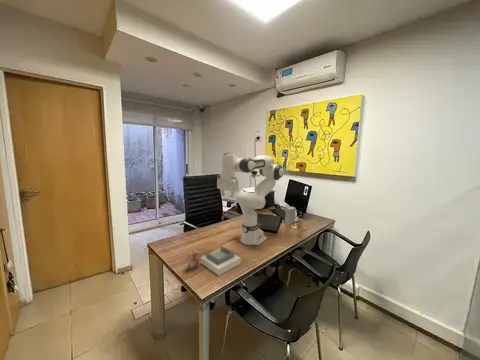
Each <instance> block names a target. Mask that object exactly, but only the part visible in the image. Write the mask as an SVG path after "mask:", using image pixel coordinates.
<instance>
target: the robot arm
mask: <svg viewBox="0 0 480 360" xmlns="http://www.w3.org/2000/svg"><path fill="white" fill-rule="evenodd" d="M273 163H274V158H273V157H271V156H270V155H264V154H263V155H256V156H253V159H252V158H250V157H244V158H243V157H242V158H241V157H238V156H236V155H235V153H234V152H225V153H223V154H222V158H221V173H220V174H218V175H217V176H216V177H217V179H216V188H217V189H218V190H220V192H221V193H220V194H221V197H225V196H226V193H225V191H229V192H230V194H229V198H230V199H233V198H234V195H235V192H236V193H237V192H238V193H237V194H236V202H237V203H238V205H239V206H240V208H241V209H240V210H241V212H242V226H241V227H242V228H241V236H240V243H242V244H244V245H247V246H260V245H261V244H262V243H263V242H265V241H266V240H267V238H268V237H267V236H265V234H264V231H263V230H262V229H261V228H259V227H261V223H259V222H258V214H257V212H256V211H255V210H261V209H264V207H265V205H266V198H265V197H266V196H267V195H268V194H269V193H270V192H271V191H272V190H273V189H274V187H275V186H276V185H277V184H276V183H277V181H279V180H280V179H281V178H282V177H283V176H284V174H285V168H284V166H282V165H280V164H273ZM254 170H258V171H259V175H261V177H264V179H262V180H261V181H260V182H259V183H258V184H256V185H255V187H254V192H249V191H239V190H240V189H239V188H240V187H239V185H240V184H239V180H238V178H237V177H236V176H235V173H246V174H249V173H252V171H254Z"/></svg>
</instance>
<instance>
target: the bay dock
mask: <svg viewBox="0 0 480 360" xmlns="http://www.w3.org/2000/svg"><path fill="white" fill-rule="evenodd" d="M241 261H242V258H241V256H238V255H236V254H235V252H234V251H232V250H230V249H228V248H226V247H224V246H222V245H220V247H219V249H217V250H214V251H213V252H208V251H206V252H205V255H203V256H201V257H200V264H201V265H203V266H204V267H206V268H207V269H209V270H210V271H211V272H213V273H214V274H216V275H217V276H220V275H223V274H224V273H227V272H229V271H230V270H232V269H234V268H236V267H237V266H240V265H241V263H242V262H241Z"/></svg>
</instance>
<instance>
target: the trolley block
mask: <svg viewBox="0 0 480 360" xmlns="http://www.w3.org/2000/svg"><path fill="white" fill-rule="evenodd" d="M199 253H200V252H199V251H198V250H196V249H193V250H191V251H187V268H188V269H189V270H190V271H194V270H196V269H198V268H200V264H199V261H200V257H199Z"/></svg>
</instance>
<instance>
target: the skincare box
mask: <svg viewBox="0 0 480 360" xmlns="http://www.w3.org/2000/svg"><path fill="white" fill-rule="evenodd" d="M284 211H285V213H284V214H285V216H284V223H286V224H287V225H290V224H292V225H293V224H295V223H294V222H296V211H297V208H296V207H294V206H287V207H285V210H284Z"/></svg>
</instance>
